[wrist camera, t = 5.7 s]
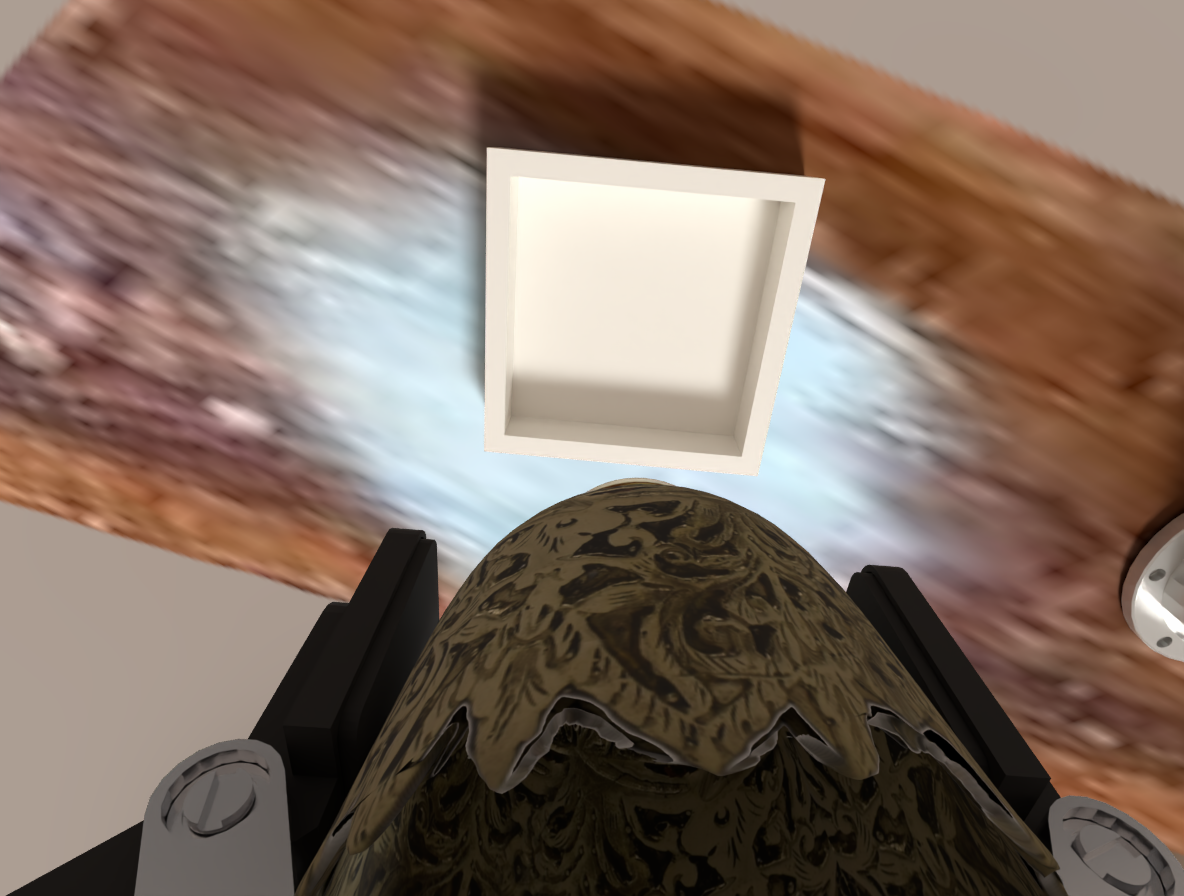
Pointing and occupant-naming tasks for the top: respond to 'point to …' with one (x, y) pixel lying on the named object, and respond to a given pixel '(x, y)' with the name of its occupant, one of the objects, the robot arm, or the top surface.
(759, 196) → the tray
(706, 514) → the ornate bronze bell
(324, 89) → the top surface
